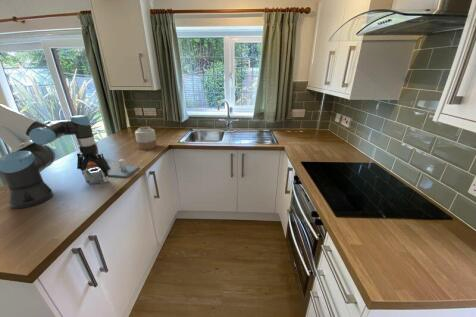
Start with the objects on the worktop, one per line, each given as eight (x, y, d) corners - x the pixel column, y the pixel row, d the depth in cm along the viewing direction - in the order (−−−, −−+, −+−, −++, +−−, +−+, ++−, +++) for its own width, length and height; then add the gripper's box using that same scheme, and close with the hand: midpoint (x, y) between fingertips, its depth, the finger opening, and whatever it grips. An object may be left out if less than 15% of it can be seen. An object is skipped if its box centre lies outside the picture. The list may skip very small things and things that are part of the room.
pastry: (116, 168, 136) (113, 156, 133) (91, 177, 124) (87, 164, 121) (101, 162, 144) (99, 152, 141) (77, 170, 132) (73, 159, 129)
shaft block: (126, 177, 123) (123, 165, 120) (107, 176, 124) (104, 164, 121) (139, 168, 136) (137, 156, 133) (122, 167, 137) (120, 155, 134)
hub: (98, 184, 115) (94, 173, 112) (86, 183, 116) (83, 172, 113) (106, 178, 122) (104, 167, 119) (96, 177, 122) (93, 167, 120)
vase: (133, 149, 171) (129, 129, 165) (145, 143, 185) (142, 125, 179) (149, 150, 168) (146, 130, 162) (160, 145, 182) (157, 126, 175)
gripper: (112, 143, 113) (120, 178, 121) (73, 141, 115) (84, 176, 123) (101, 147, 106) (111, 185, 114) (61, 145, 108) (73, 182, 116)
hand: (97, 180), depth 119 cm, fingers open, 11 cm apart
